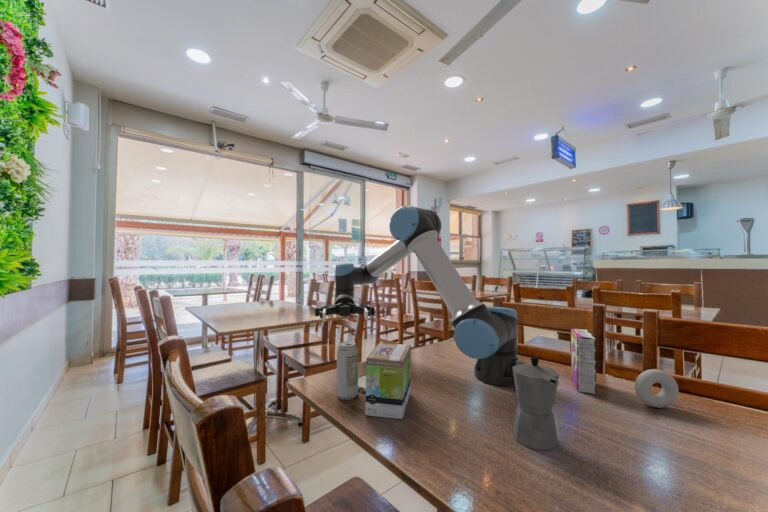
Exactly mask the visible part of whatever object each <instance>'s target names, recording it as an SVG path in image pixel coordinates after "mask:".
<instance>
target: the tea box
mask: <svg viewBox="0 0 768 512" xmlns="http://www.w3.org/2000/svg"><path fill="white" fill-rule="evenodd" d="M411 349H412V347H411V344H401V343H400V344H398V343H386V342H383V343H382V342H381V343H380V342H378V343H377V345H376V346H375V348H373V349H372V351H370V353H369V354H368V356H367V357H366V360H365V361H366V362H365V366H366V367H365V369H366V370H365V375H366V393H365V406H364V407H365V416H370V417H379V418H387V419H399V420H403V418H404V415H405V412H406V409H407V405H408V402H409V399H410V396H411V381H412V380H411V374H412V373H411V371H412V369H411V368H412V366H411V365H412V363H411V361H412V360H411V359H412V358H411V357H412V350H411Z"/></svg>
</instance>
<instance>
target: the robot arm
mask: <svg viewBox="0 0 768 512" xmlns="http://www.w3.org/2000/svg"><path fill="white" fill-rule="evenodd" d="M389 219H390V221H389V232H390V235H391V236H392V237H393V239H395V241H394V242H393V243H392V244H390V245H389V246H388V247H386V248H385V249H384V250H383V251H381V252H380V253H378V254H377V255H375V256H374V257H373V259H371V260H370V261H369V262H367V263H365V264H364V265H363V266H359V267H357V266H355V265H354V264H353V263H352V262H351V263H350V262H344V263H343V262H342V263H341V262H340V263H337V264H336V265H335V268H334V269H335V270H334V271H335V272H334V277H335V281H334V282H335V283H334V285H335V289H334V290H335V291H334V293H335V294H334V296H335V297H334V298H335V299H334V304H333V306H332V305H330V304H328V303H327V304H325V305H323V306H319V307H315V308H314V317H319V319H321V320H322V322H326V319H327V316H331V315H339V316H340V317H345V318H346V317H349V316H351V315H356V314H358V315H363V316H364V320H365V321H368V320H369V317H371V316H375V315H376V314H375V312H376V311H375V307H374V306H370V305H366V304H364V303H360V304H359V305H357V304H356V303H355V301H354V295H355V294H354V292H355V290H354V289H355V286H358V285H370V284H373V283H376V282H377V281H378V280H379V278H380V276H381V275H383V274H384V273H386V272H387V271H388V270H389V269H391V268H392V267H394V266H395V265H396V264H398V263H400V262H401V261H402V260H403V259H406V258H407V257H408V256H409V255H411V254H413V253H414V254H415V256H416V258H417V259H418V260H419V262H420V264H421V265H422V268H423V270H424V271H425V273H426V274H427V276H428V278H429V279H430V281H431V283H432V284H433V286H434V287H435V289H436V291H437V293H438V294H439V295H440V297H441V299H442V301H443V302H444V305H445V306H446V307H447V309H448V310H449V312H450V314H451V320H450V323H451V325H452V327H453V329H454V331H453V332H454V335H453V339H454V343H455V345H456V347H457V349H458V350H459V351H460V352H461V353H462V354H464V356H466V357H468V358H470V359H471V358H472V359H476V362H475V365H474V369H473V370H474V373H473V374H474V376H475V378H477V380H479V381H481V382H483V383H487V384H489V385H494V386H504V387H505V386H506V387H510V386H511V387H513V383H512V378H511V372H510V368H509V362H510V361H511V360H512V359H513V358H517V359H518V360H520V359H519V356H518V321H519V317H518V312H517V310H516V309H514V308H509V307H503V306H501V307H500V306H489V305H488V306H487V305H486V304H485V303H484V302H480V301H477V300H476V298H475V297H474V295H473V294H472V291H470V289H469V287H468V286H467V284H466V283H465V281H464V279H463V278H462V277H461V275H460V273H459V271H458V270H457V268H456V267H455V266H454V264H453V262H452V261H451V259H450V257H449V256H448V255H447V253H446V251H445V250H444V248H443V246H442V245H441V244H440V242H439V241H438V239H437V238H438V237H439V235H440V234H441V230H442V221H441V218H440V217H439V215H438V214H437V213H436V212H435V211H433V210H431V209H427V208H421V207H417V206H413V205H403V206H402V205H401V206H400V207H398V208H397V209H396V210H395V211H394V212H393V213H392V215H391V217H390V218H389Z"/></svg>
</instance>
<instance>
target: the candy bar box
mask: <svg viewBox="0 0 768 512" xmlns="http://www.w3.org/2000/svg"><path fill="white" fill-rule="evenodd" d="M570 338H571V339H570V343H571V345H570V346H571V347H570V348H571V349H570V352H571V357H570V358H571V380H572V382H573V383H574V386H575V388H576V390H577V392H578V393H581V392H582V394H589V393H590V394H591V395H597V367H596V366H597V361H596V359H597V355H596V354H597V353H596V351H597V350H596V348H597V347H596V341H597V340H596V338H595V336H594V335H593V334H592V333H591V332H590V331H589V330H588V329H583V328H582V329H581V328H571V329H570Z"/></svg>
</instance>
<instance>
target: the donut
mask: <svg viewBox="0 0 768 512" xmlns="http://www.w3.org/2000/svg"><path fill="white" fill-rule="evenodd" d="M654 384H660V386H661V388H660V391H659V392H658V393H653V392H652V390H651V389H652V386H653V385H654ZM634 390H635V394H636V396H637V397H638V399H639V400H640V401H641V402H642V403H643V404H644V405H647V406H649V407H651V408H655V407H657V409H663V408H667V407H669V406H671V405H672V404H674V403H675V402H676V401H677V398H678V396H679V391H680V390H679V385H678V383H677V381H676V379H675V378H674V377H673V376H672V375H671V374H670V373H668V372H667V371H664V370H663V369H662V370H661V369H657V368H652V369H646V370H644V371H643V372H641V373H640V374H639V375H638V376H637V377H636V379H635V382H634Z"/></svg>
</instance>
